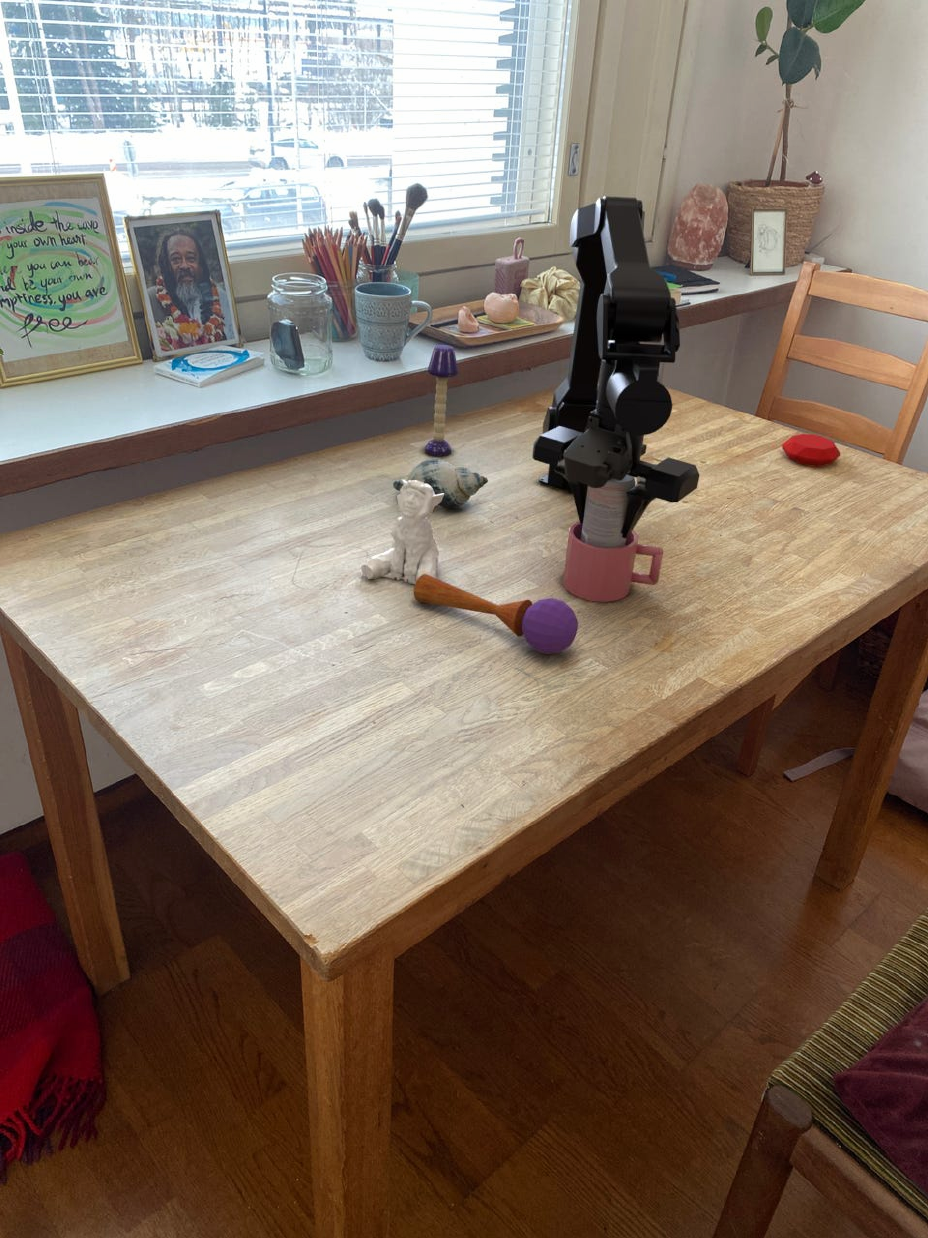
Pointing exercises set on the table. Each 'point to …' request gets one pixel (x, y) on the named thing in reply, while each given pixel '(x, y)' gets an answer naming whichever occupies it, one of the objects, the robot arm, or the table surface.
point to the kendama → (509, 614)
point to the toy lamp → (441, 395)
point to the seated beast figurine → (409, 537)
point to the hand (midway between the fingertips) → (604, 529)
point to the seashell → (446, 481)
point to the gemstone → (811, 450)
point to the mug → (606, 567)
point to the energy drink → (606, 513)
